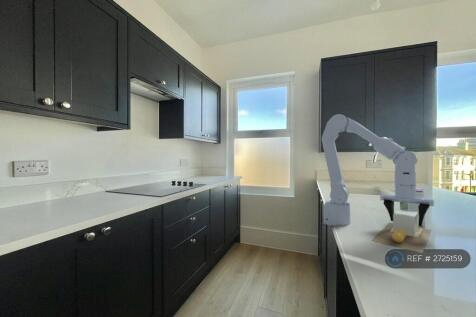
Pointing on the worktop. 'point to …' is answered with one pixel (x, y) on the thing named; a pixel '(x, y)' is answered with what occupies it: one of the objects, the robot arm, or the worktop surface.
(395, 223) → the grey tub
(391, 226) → the walnut board
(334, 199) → the robot arm
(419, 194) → the syrup box
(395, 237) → the marble
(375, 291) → the worktop surface
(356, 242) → the worktop surface
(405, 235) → the marble
